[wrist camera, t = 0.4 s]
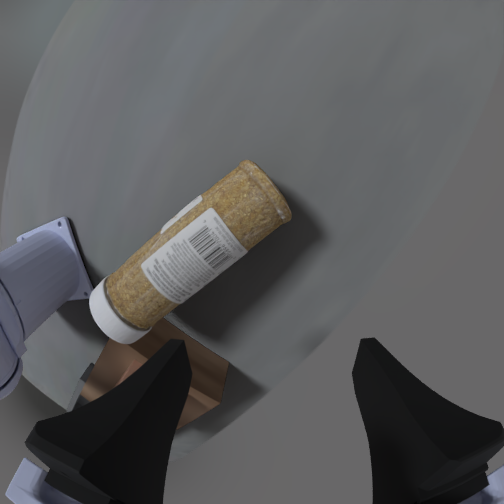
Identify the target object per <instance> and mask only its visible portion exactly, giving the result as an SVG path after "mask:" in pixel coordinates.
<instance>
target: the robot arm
mask: <svg viewBox="0 0 504 504" xmlns="http://www.w3.org/2000/svg"><path fill="white" fill-rule="evenodd" d="M60 222H61V224H60ZM93 290H94V289H93V287H92V284H91V282H90V279H89V277H88V274H87V272H86V269H85V267H84V264H83V262H82V259H81V256H80V254H79V251H78V248H77V245H76V242H75V239H74V236H73V233H72V230H71V227H70V224H69V221H68V219H67V217H61V218H59V219H57V220H54V221H52V222H49V223H47V224H45V225H42V226H40V227H38V228H36V229H33V230H31V231H29V232H27V233H25V234H23V235H21V236H18V237H17V243H16V244H14V245H13V246H11V247H9V248H7V249H5V250H4V251H2V252H0V400H1V399H3V398H4V397H6V396H8V395H9V394H10V393H11V392H12V391H13V390H14V388H15V387H16V385H17V384H18V382H19V379H20V377H21V374H22V370H23V363H22V360H21V356H22V355H23V354H24V353H25V352H26V351H27V349H26V347H25V344H24V341H25V340H26V339H27V338H28V337H29V336H30V335H31V334H32V333H33V332H34V331H35V330H36V329H37V328H38V327H39V326H40V325H41V324H42V323H43V322H44V321H45V320H46V319H48V318H49V317H50V316H51V315H52V314H53V313H54V312H55V311H56V310H57V309H58V308H59V307H60V306H62V305H63V304H64V303H65V302H66V301H70V300H79V299H89V298H90V295H91V293H92V291H93ZM192 374H193V373H192V369H191V366H190V362H189V358H188V354H187V349H186V345H185V341H184V340H180V339H170V340H169V341H168V342H167V343H165V344H164V345H163V346H162V347H161V348H160V349H159V350H158V351H157V352H156V353H155V354H154V355H153V356H152V357H151V358H150V359H149V360H147V361H146V362H145V363H144V364H143V365H142V366H141V367H140V368H139V369H137V370H136V371H135V372H134V373H133V374H131V375H130V376H129V377H128V378H126V379H125V380H124V381H123V382H121V383H120V384H119V385H117V386H116V387H114V388H113V389H111V390H110V391H108V392H107V393H105V394H104V395H102V396H100V397H99V398H97V399H95V400H93V401H91V402H89V403H87V404H86V405H84V406H82V407H79V408H77V409H75V410H72V411H70V412H67V413H65V414H62V415H59V416H56V417H52V418H49V419H45V420H41V421H38V422H37V423H36V425H35V426H34V428H33V430H32V431H31V433H30V435H29V436H28V438H27V439H26V441H25V444H26V446H27V448H28V449H29V450H30V451H31V452H32V453H33V454H34V455H35V456H36V457H38V458H39V459H40V460H41V461H42V462H43V463H45V464H46V465H47V466H48V467H49V468H50V470H49V472H46V471H45V470H43V469H42V468H41V467H39V466H37V465H36V464H35V463H33V462H32V461H30V460H29V459H27V458H24V459H23V461H22V463H21V464H20V466H19V468H18V470H17V472H16V474H15V476H14V478H13V480H12V482H11V483H10V485H9V487H8V489H7V491H6V496H7V497H8V498H9V499H10V500H12V501H13V502H14V503H15V504H163V494H164V486H165V478H166V471H167V465H168V460H169V455H170V450H171V445H172V441H173V437H174V434H175V431H176V428H177V425H178V422H179V420H180V417H181V414H182V411H183V408H184V405H185V403H186V400H187V397H188V394H189V389H190V384H191V379H192ZM352 376H353V383H354V389H355V394H356V398H357V401H358V405H359V408H360V412H361V415H362V419H363V422H364V425H365V429H366V432H367V437H368V441H369V448H370V456H371V466H372V480H373V504H504V465H502V466H501V467H499V468H498V469H496V470H495V471H493V472H492V473H490V474H489V475H487V476H486V473H485V471H486V470H488V465H487V461H489V460H490V459H491V458H492V457H493V456H494V455H495V454H496V453H497V452H498V451H499V450H500V449H501V448H502V447H503V446H504V428H503V426H502V424H501V423H500V422H498V421H495V420H491V419H488V418H485V417H482V416H479V415H477V414H474V413H472V412H469V411H467V410H465V409H463V408H461V407H459V406H457V405H455V404H454V403H452V402H450V401H448V400H447V399H445V398H443V397H442V396H440V395H439V394H437V393H436V392H435V391H433V390H431V389H430V388H429V387H428V386H426V385H425V384H424V383H422V382H421V381H420V380H419V379H418V378H416V377H415V376H414V375H413V374H412V373H411V372H409V371H408V370H407V369H406V368H405V367H404V366H403V365H402V364H401V363H400V362H399V361H398V360H397V359H396V358H395V357H393V355H391V353H390V352H389V351H387V349H386V348H385V347H383V345H382V344H380V342H378V341H377V340H376V339H375V338H364V339H361V341H360V345H359V349H358V352H357V357H356V360H355V364H354V367H353V371H352Z"/></svg>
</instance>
